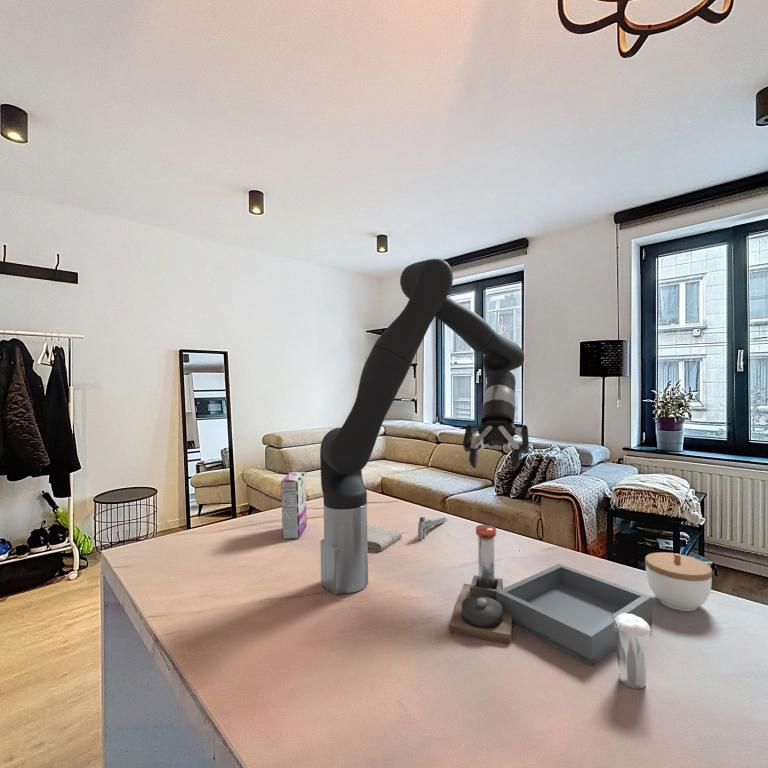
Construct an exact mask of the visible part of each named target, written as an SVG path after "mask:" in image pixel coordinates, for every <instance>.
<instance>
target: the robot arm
mask: <svg viewBox="0 0 768 768" xmlns="http://www.w3.org/2000/svg"><path fill="white" fill-rule="evenodd" d="M453 281H454V274H453V270H452V268H451V265H450V264H449V263H448V262H447V261H445V260H444V259H440V258H430V259H426V260H422V261H418V262H414V263H412V264H410V265H407V266H405V268H404V269H403V271H402V272H401V275H400V281H399V284H400V287H401V290H402V293H403V294H404V295H405V297H406V298H407V299H409V300H408V302H407V303H406V305H405V307H404V309H403V310H402V311H401V312H400V314H399V315H398V316H397V317H396V318H395V319H394V320H393V321H392V322H391V323H390V324H389V326H388V327H386V329H385V330H384V331H383V332H382V333H381V334H380V335H379V337H378V338H377V339H376V341H375V343H374V345H373V346H372V348H371V351H370V352H369V354H368V357H367V359H366V360H365V362H364V364H363V367H362V371H361V374H360V379H359V383H358V389H357V393H356V398H355V401H354V404H353V406H352V409H351V410H350V412H349V414H348V416H347V417H346V419H345V421H344V423H343V424H342V426H341V427H334V428H333V429H331V430H329V431H328V432H327V433H326V434H325V435H324V437H323V439H322V440H321V444H320V447H319V448H320V449H319V459H320V460H319V462H320V463H319V464H320V465H319V467H320V483H321V484H320V486H321V491H322V497H323V498H322V499H323V524H324V525H323V533H324V534H323V538H324V539H320V543H319V544H320V585H321V586H323V587H324V588H325V589H327V590H328V591H329V592H331V594H333V595H338V594H351V593H356V592H359V591H362V590H364V589H365V588H366V587H367V586H368V584H369V564H368V563H369V556H368V555H369V554H368V552H369V551H368V550H369V549H368V544H367V525H368V493H367V489H366V486H365V484H364V478H363V469H364V468H365V467H366V465H367V464H368V462H369V460H370V458H371V456H372V453H373V450H374V448H375V445H376V442H377V439H378V435H379V434H380V431H381V428H382V425H383V422H384V420H385V418H386V416H387V414H388V413H389V410H390V408H391V406H392V404H393V403H394V400H395V398H396V396H397V394H398V392H399V391H400V388H401V386H402V385H403V382H404V381H405V378H406V376H407V374H408V373H409V369H410V368H411V366H412V363H413V361H414V359H415V357H416V354H417V352H418V350H419V348H420V346H421V345H422V342H423V340H424V338H425V336H426V333H427V332H428V329H429V328H430V326H431V324H432V322H433V320H434V319H435V318H436V319H437V320H439V321H440V322H442V323H443V324H444V325H445V326H447V328H449V329H451V330H452V331H453V332H454V333H455V334H457V336H459V337H460V338H461V339H462V340H463V341H464V342H465V343H466V344H467V345H468V346H469V347H470V348H471V349H472V350H473V351H474V352H475V353H477V354H478V355H483V357H482V366H483V370H484V373H485V380H486V385H485V386H486V387H485V394H484V396H483V403H482V408H481V409H482V411H481V419H480V425H479V426H478V427H477V426H476V427H473V426H472V425H471V424H467V425H466V427H465V432H464V437H463V441H462V447H463V449H464V451H465V453H468V452H469V457H468V460H469V464H470V466H472V468H473V469H476V468H477V464H478V456H479V455H478V453H479V452H480V451H481V450H484V449H485V448H486V447H487V446H489V447H491V446H492V447H494V446H499V447H504V446H505V445H506V446H507V448H508V449H509V450H510V451H512V453H511V469H512V470H517V468H519V466H520V464H521V463H520V460H521V457H520V456H521V454H528V453H530V441H529V440H530V439H529V429H528V425H526V424H523V425H522V426H521V427H516V426H515V416H516V415H515V414H516V410H517V409H516V397H515V396H516V377H515V374H513V373H512V372H511V371H513V370H516V369H518V368H520V367H522V365H524V363H525V352H524V351H523V348H522V347H521V346H520V345H519V344H518V343H517V342H516V341H514V340H512V339H510V338H508V337H507V336H505V335H503V334H502V333H499V332H497V331H495V330H494V329H493V328H492V326H491V325H490V324H489V323H488V322H487V321H486V320H485V319H484V318H482V316H480V315H479V314H478V313H476V312H474V311H473V310H471V309H470V308H468V307H466V306H464V305H462V304H460V303H458V302H457V301H456V300H454V298H451V297H450V296H449V294H450V291H451V289H452V286H453ZM477 434H478V436H476V435H477ZM517 434H518V436H519V438H521V441H522V443H521V444H520V445H519V444H518V443H517V442H516V441H515V439H514V437H515V435H517ZM475 437H476V439H475V440H474V441H473V438H475ZM472 441H473V442H472Z"/></svg>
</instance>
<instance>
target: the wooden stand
mask: <svg viewBox="0 0 768 768" xmlns="http://www.w3.org/2000/svg"><path fill="white" fill-rule="evenodd" d="M503 587H504V581H503V578H497V577H495V589H490V588H482V587H479V575H475V574H474V575H473V577H472V581H471V583H470V584H468V583H463V586H462V588H461V591H460V594H459V596H458V599H457V602H456V606H455V609H454V611H453V614H452V617H451V620H450V622H449V634H451V635H456V636H457V635H458V636H463V637H468V638H469V637H470V638H474V639H481V640H486V641H493V642H498V643H504V644H511V643H512V641H511V640H512V633H513V631H512V630H513V624H512V616H511V615H509V614H508V613H506V612H504V611H503V608H502V605H501V604H500V603H499V602H498V601H496V591H499V590H501V589H503Z"/></svg>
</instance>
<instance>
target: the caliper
mask: <svg viewBox="0 0 768 768" xmlns="http://www.w3.org/2000/svg"><path fill="white" fill-rule="evenodd" d="M447 521H448V518H447V517H446V516H442V517H437V518H434V519H426V517H425V516H421V517H419V521H418V525H417V526H418V527H417V528H418V529H417V540H418V541H421V542H422V541H423V540H425V539H426V535H427V530H428V531H429V530H431V529H432V527H433V526H437V525H441V524H444V523H445V522H447Z"/></svg>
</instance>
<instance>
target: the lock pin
mask: <svg viewBox="0 0 768 768" xmlns="http://www.w3.org/2000/svg"><path fill="white" fill-rule="evenodd" d="M475 534H476V536H477V539H478V540H477V541H478V542H477V546H478V547H477V551H478V559H477V560H478V576H479V587H482V588H490V589H495V578H496V577H495V575H496V573H495V571H496V570H495V537H496V536H497V527H495V526H493V525H490V524H479V525H476V526H475Z"/></svg>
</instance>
